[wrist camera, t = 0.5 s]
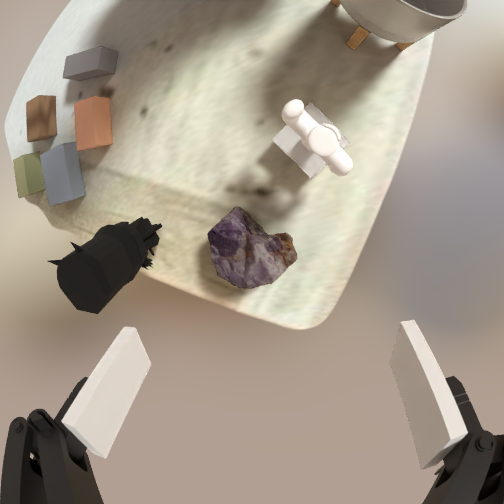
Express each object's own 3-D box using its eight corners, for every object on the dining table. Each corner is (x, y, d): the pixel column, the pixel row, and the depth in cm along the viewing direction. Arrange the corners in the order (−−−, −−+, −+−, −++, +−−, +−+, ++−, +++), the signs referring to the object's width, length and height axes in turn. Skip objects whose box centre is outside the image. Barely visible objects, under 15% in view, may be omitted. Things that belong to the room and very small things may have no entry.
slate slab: (53, 152, 39) (39, 155, 36) (77, 141, 38) (63, 143, 35) (62, 201, 43) (49, 206, 39) (86, 194, 42) (73, 199, 38)
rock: (246, 195, 41) (207, 242, 44) (230, 200, 33) (185, 258, 36) (305, 246, 41) (262, 290, 44) (303, 264, 33) (251, 316, 36)
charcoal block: (80, 80, 34) (62, 78, 29) (83, 60, 32) (66, 56, 27) (114, 73, 33) (97, 68, 29) (118, 52, 32) (102, 46, 27)
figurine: (314, 181, 38) (332, 205, 24) (266, 134, 36) (257, 129, 22) (349, 147, 35) (388, 153, 21) (302, 99, 33) (315, 75, 19)
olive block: (29, 156, 40) (13, 159, 35) (40, 151, 39) (23, 155, 35) (34, 192, 43) (18, 198, 38) (45, 189, 42) (28, 195, 38)
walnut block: (43, 102, 35) (26, 102, 31) (56, 95, 35) (38, 95, 30) (45, 139, 38) (27, 142, 34) (57, 134, 38) (39, 136, 33)
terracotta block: (92, 104, 35) (74, 103, 31) (110, 98, 35) (92, 96, 30) (95, 148, 39) (77, 151, 34) (113, 143, 38) (95, 145, 33)
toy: (159, 191, 40) (77, 235, 22) (186, 242, 43) (127, 314, 25) (122, 215, 43) (41, 265, 24) (148, 260, 45) (84, 330, 27)
